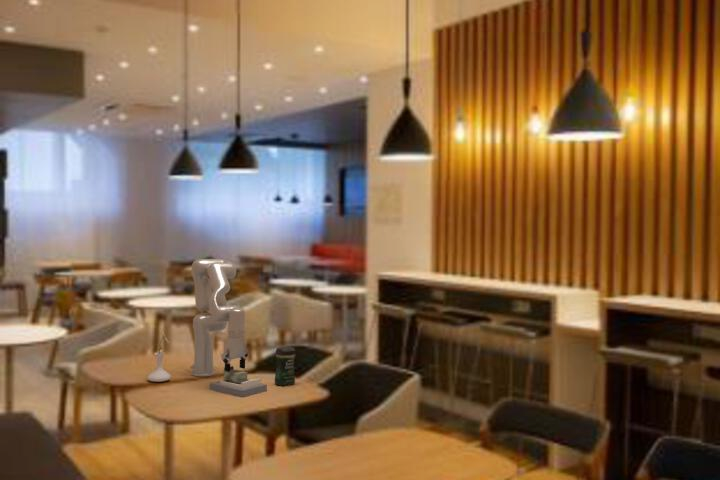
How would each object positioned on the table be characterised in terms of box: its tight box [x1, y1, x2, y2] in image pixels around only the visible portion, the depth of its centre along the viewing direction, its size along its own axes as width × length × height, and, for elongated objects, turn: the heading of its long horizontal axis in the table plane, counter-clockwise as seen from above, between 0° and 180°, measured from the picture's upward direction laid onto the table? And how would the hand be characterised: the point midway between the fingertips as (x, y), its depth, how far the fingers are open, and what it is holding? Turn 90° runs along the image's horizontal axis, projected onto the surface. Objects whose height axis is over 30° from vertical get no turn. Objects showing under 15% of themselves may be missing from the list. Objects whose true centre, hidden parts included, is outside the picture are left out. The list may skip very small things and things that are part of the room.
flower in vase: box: [147, 329, 172, 383], centre depth 362 cm, size 13×11×25 cm
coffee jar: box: [274, 346, 296, 387], centre depth 360 cm, size 10×8×19 cm
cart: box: [222, 365, 248, 384], centre depth 347 cm, size 10×6×7 cm, turn 53°
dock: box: [209, 378, 268, 398], centre depth 346 cm, size 22×16×6 cm
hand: (234, 369), depth 348 cm, fingers open, 9 cm apart
